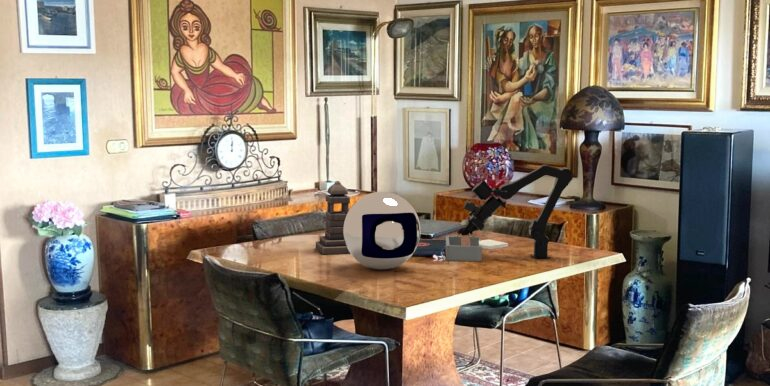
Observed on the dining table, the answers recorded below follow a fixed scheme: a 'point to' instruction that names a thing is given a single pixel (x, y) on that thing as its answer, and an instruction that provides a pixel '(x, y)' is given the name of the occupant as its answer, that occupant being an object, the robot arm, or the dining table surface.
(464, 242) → the grandmother figurine
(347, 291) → the dining table surface
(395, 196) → the spherical light
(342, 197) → the miniature tower
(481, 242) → the ceramic tile
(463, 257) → the open crate
